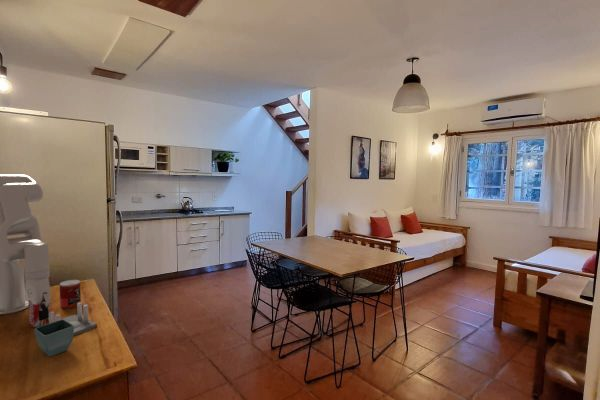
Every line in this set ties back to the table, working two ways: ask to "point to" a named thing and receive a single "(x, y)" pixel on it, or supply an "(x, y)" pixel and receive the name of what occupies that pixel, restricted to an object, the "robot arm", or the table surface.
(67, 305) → the canned food
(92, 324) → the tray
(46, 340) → the flower pot
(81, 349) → the table surface
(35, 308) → the soda can
